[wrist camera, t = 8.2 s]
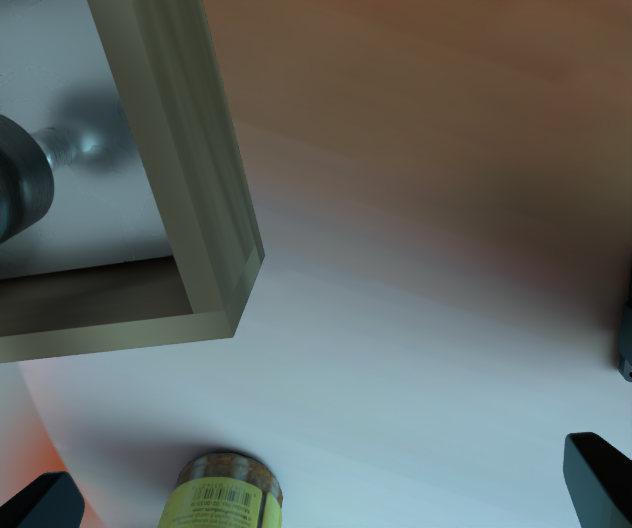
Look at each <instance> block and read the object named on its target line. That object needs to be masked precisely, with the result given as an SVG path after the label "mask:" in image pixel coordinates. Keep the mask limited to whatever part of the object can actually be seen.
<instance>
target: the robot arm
mask: <svg viewBox="0 0 632 528" xmlns="http://www.w3.org/2000/svg"><path fill="white" fill-rule="evenodd" d="M618 350H619V352H620V353H621V355H620V363H619V372H620V374H621V375H622V376H623V377H624V379H625V380H626V381H629V382H632V372H631V371H632V271H631V278H630V286H629V294H628V298H627V300H626V301H625V303H624V306H623V314H622V321H621V329H620V337H619V345H618ZM563 473H564V478H565V482H566V485H567V488H568V491H569V494H570V496H571V499H572V502H573V505H574V508H575V510H576V513H577V516H578V519H579V522H580V525H581V527H582V528H632V460H630V459H629V458H628V457H626V456H625V455H624V454H622V453H621V452H620V451H619V450H617V449H616V448H615V447H613V446H612V445H611V444H609V443H608V442H607V441H605V440H604V439H603V438H601V437H600V436H599V435H597V434H595V433H593V432H581V433H570V434H568V435H567V436H566V438H565V448H564V462H563ZM84 508H85V502H84V498H83V496H82V494H81V493H80V491H79V489H78V487H77V486H76V484H75V482H74V480H73V479H72V477H71V475H70V474H69V473H68V472H66V471H56V472H47V473H44V474H42V475H40V476H39V477H38V478H36V479H35V480H34V481H33V482H31V483H30V484H29V485H28V486H26V487H25V488H24V489H23V490H21V491H20V492H19V493H17V494H16V495H15V496H14V497H12V498H11V499H10V500H9V501H7V502H6V503H5V504H3V505H2V506H1V507H0V528H79V526H80V523H81V520H82V517H83V513H84Z"/></svg>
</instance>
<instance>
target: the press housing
mask: <svg viewBox="0 0 632 528" xmlns="http://www.w3.org/2000/svg"><path fill="white" fill-rule="evenodd" d="M87 2H88V5H89V8H90V11H91V14H92V17H93V20H94V23H95V26H96V29H97V31H98V34H99V37H100V40H101V43H102V46H103V49H104V52H105V55H106V58H107V61H108V64H109V67H110V70H111V73H112V76H113V78H114V81H115V84H116V87H117V90H118V93H119V96H120V99H121V102H122V105H123V108H124V111H125V114H126V117H127V120H128V123H129V125H130V128H131V131H132V134H133V137H134V140H135V143H136V146H137V149H138V152H139V155H140V158H141V161H142V164H143V167H144V170H145V172H146V175H147V178H148V181H149V184H150V187H151V190H152V193H153V196H154V199H155V202H156V205H157V208H158V211H159V214H160V217H161V219H162V222H163V225H164V228H165V231H166V234H167V237H168V240H169V243H170V246H171V249H172V252H173V255H172V256H165V257H158V258H151V259H143V260H136V261H129V262H122V263H114V264H107V265H100V266H93V267H85V268H78V269H71V270H64V271H56V272H49V273H42V274H35V275H27V276H20V277H13V278H6V279H0V363H6V362H15V361H24V360H33V359H42V358H51V357H60V356H69V355H79V354H88V353H97V352H106V351H115V350H124V349H133V348H142V347H151V346H160V345H169V344H178V343H187V342H196V341H205V340H215V339H224V338H233V337H234V334H235V332H236V329H237V326H238V324H239V321H240V319H241V316H242V313H243V311H244V308H245V306H246V303H247V301H248V298H249V295H250V293H251V290H252V288H253V285H254V282H255V280H256V277H257V275H258V272H259V270H260V267H261V264H262V262H263V259H264V257H265V253H264V249H263V245H262V241H261V237H260V233H259V229H258V225H257V221H256V217H255V213H254V209H253V205H252V201H251V197H250V193H249V189H248V185H247V181H246V177H245V172H244V168H243V164H242V160H241V156H240V152H239V148H238V144H237V140H236V136H235V132H234V128H233V124H232V120H231V116H230V112H229V108H228V104H227V100H226V96H225V92H224V87H223V83H222V79H221V75H220V71H219V67H218V63H217V59H216V55H215V51H214V47H213V43H212V39H211V35H210V31H209V27H208V23H207V19H206V15H205V11H204V7H203V2H202V0H87Z"/></svg>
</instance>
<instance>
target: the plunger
mask: <svg viewBox="0 0 632 528" xmlns="http://www.w3.org/2000/svg"><path fill="white" fill-rule="evenodd" d="M172 255H173V252H172V249H171V246H170V243H169V240H168V237H167V234H166V231H165V228H164V225H163V222H162V219H161V217H160V214H159V211H158V208H157V205H156V202H155V199H154V196H153V193H152V190H151V187H150V184H149V181H148V178H147V175H146V172H145V170H144V167H143V164H142V161H141V158H140V155H139V152H138V149H137V146H136V143H135V140H134V137H133V134H132V131H131V128H130V125H129V123H128V120H127V117H126V114H125V111H124V108H123V105H122V102H121V99H120V96H119V93H118V90H117V87H116V84H115V81H114V78H113V76H112V73H111V70H110V67H109V64H108V61H107V58H106V55H105V52H104V49H103V46H102V43H101V40H100V37H99V34H98V31H97V29H96V26H95V23H94V20H93V17H92V14H91V11H90V8H89V5H88V2H87V0H0V279H6V278H13V277H20V276H27V275H35V274H42V273H49V272H56V271H64V270H71V269H78V268H85V267H93V266H100V265H107V264H114V263H122V262H129V261H136V260H143V259H151V258H158V257H165V256H172Z"/></svg>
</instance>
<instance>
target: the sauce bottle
mask: <svg viewBox="0 0 632 528" xmlns="http://www.w3.org/2000/svg"><path fill="white" fill-rule="evenodd" d="M282 500H283V496H282V491H281V489H280V486H279V483H278V482H277V480H276V479H275V477H274V476H273V475H272V473H271V472H270V471H269V470H268V468H266V467H265V466H264V465H263V464H261V463H259V462H257V461H255V460H253V459H252V458H247V457H245V456H240V455H238V454H234V453H216V454H214V453H210V454H207V455H205V456H202V457H198V458H196V460H194V461H192V462H190V463H189V464H188V465H187V466H185V467H184V468H183V470H182V471H181V473H180V475H179V478H178V481H177V483H176V485H175V488H174V491H173V492H172V493H171V494H170V496H169V497H168V499H167V502H166V505H165V507H164V510H163V513H162V516H161V519H160V521H159V524H158V527H157V528H281V524H282V512H281V507H282Z"/></svg>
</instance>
